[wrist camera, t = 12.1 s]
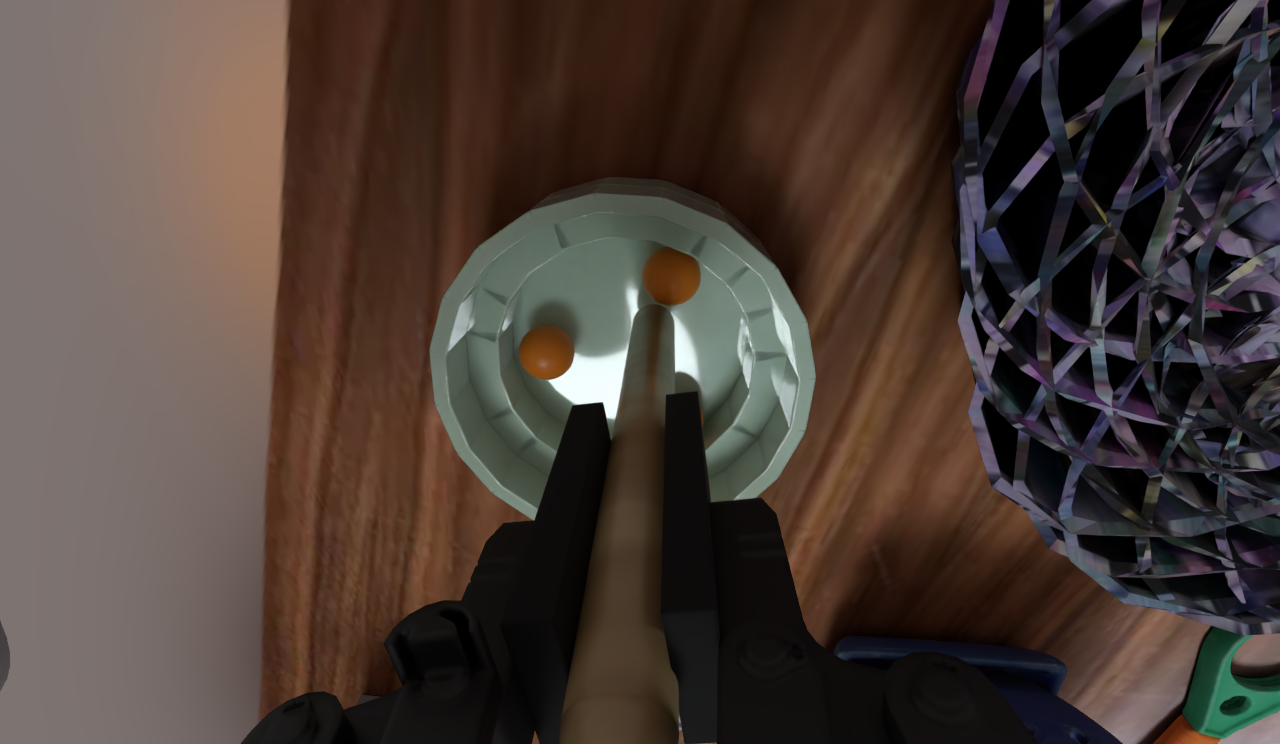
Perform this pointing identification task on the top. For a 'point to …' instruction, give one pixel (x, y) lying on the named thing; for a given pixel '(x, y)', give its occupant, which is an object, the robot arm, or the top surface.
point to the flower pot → (997, 682)
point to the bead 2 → (671, 276)
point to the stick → (628, 566)
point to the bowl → (620, 335)
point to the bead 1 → (546, 352)
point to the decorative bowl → (1130, 290)
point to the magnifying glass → (1221, 695)
